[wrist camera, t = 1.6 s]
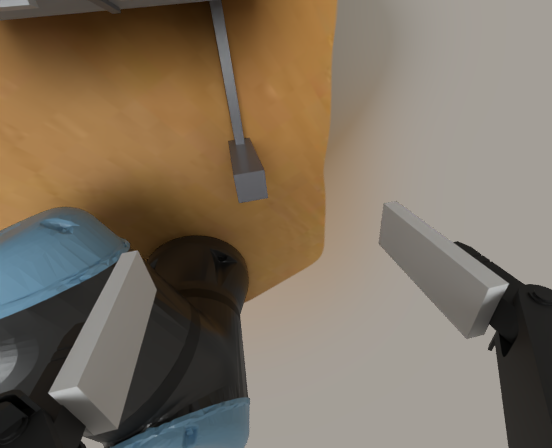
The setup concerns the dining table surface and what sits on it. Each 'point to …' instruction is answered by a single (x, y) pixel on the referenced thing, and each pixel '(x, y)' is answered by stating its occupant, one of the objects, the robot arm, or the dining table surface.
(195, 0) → the cabinet
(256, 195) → the l-shaped tool
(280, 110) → the dining table surface
